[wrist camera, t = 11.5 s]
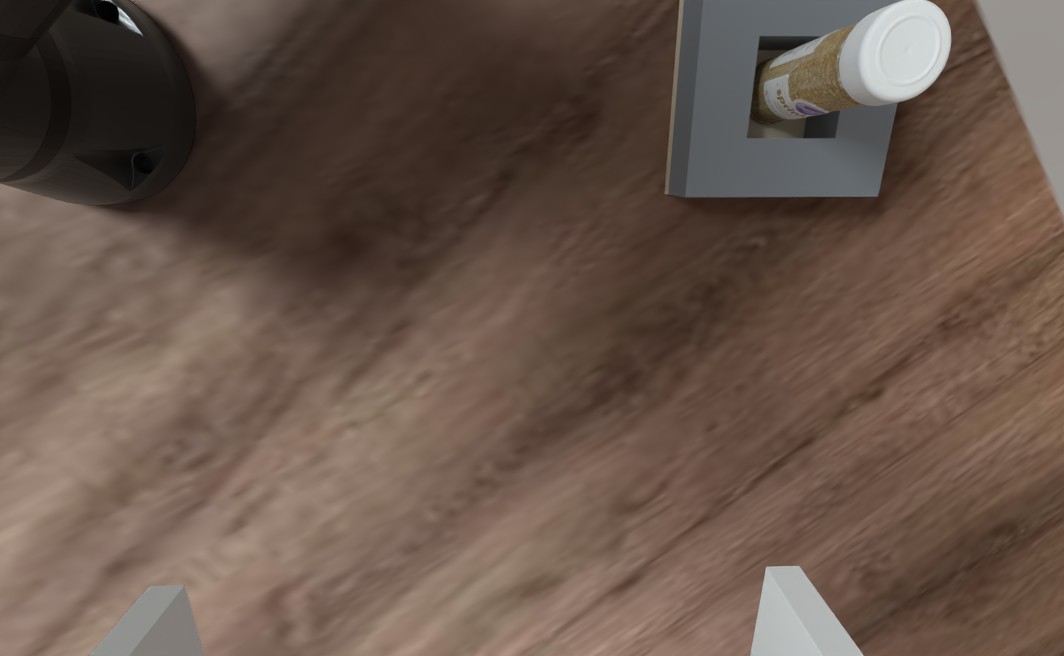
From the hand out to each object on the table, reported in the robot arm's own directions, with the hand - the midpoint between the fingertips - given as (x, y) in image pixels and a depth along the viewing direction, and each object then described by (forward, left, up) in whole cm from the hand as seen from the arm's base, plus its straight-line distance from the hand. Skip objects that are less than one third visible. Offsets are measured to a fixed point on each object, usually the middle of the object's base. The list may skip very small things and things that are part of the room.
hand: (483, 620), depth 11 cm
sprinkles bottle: (+20, +15, -31) cm, 40 cm away
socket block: (+20, +15, -32) cm, 40 cm away
